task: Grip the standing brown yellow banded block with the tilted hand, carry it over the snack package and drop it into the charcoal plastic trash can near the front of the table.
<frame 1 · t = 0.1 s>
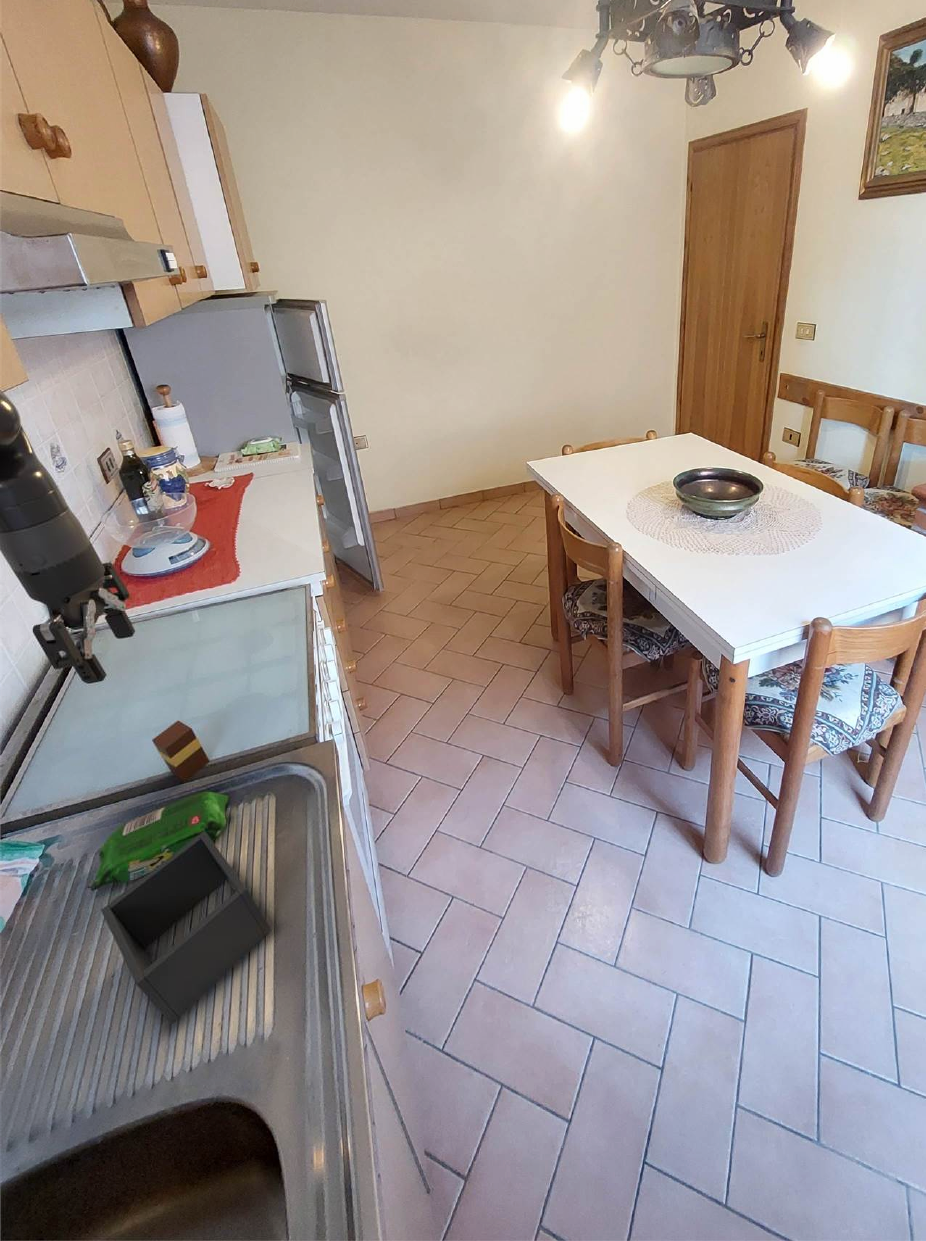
hand: (112, 657, 74), 25 cm above the worktop, tool pointing down, fingers open, 8 cm apart
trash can: (207, 946, 67), on the worktop
snack package: (171, 850, 77), on the worktop
brown yellow banded block: (194, 772, 88), on the worktop
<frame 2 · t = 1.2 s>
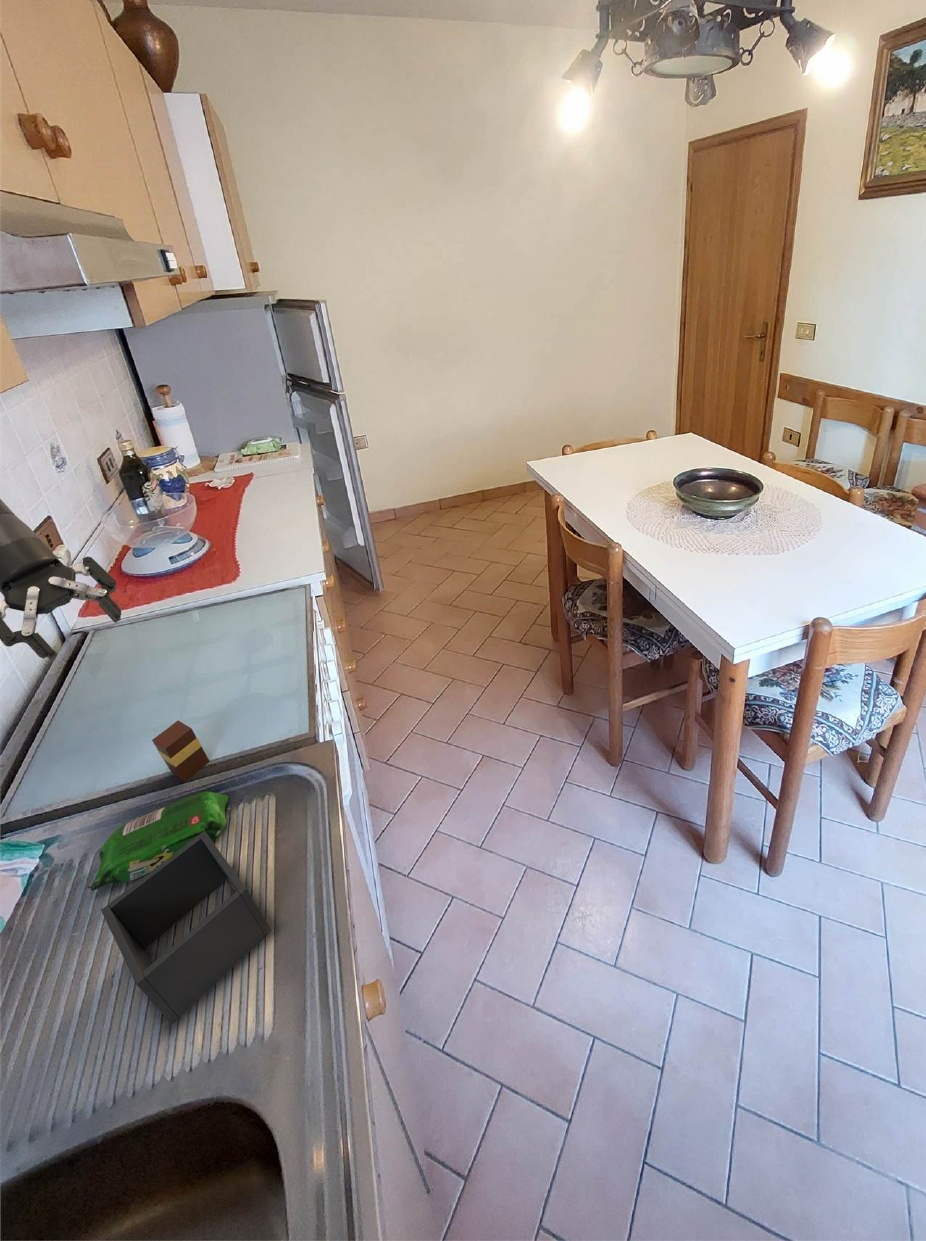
hand: (87, 637, 82), 23 cm above the worktop, tool tilted 45°, fingers open, 8 cm apart
nothing on the worktop moved.
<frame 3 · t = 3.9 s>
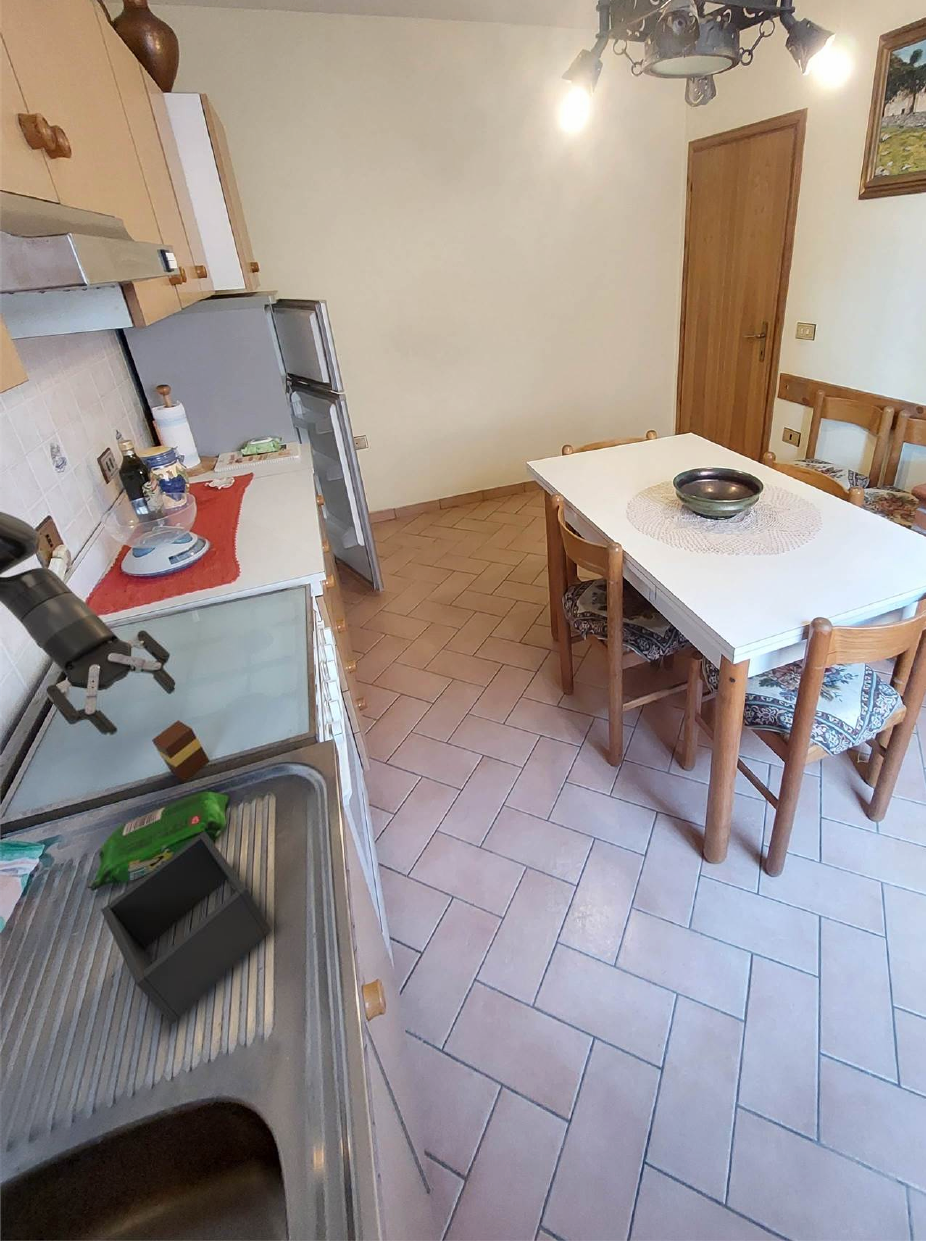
hand: (144, 711, 86), 10 cm above the worktop, tool tilted 45°, fingers open, 8 cm apart
nothing on the worktop moved.
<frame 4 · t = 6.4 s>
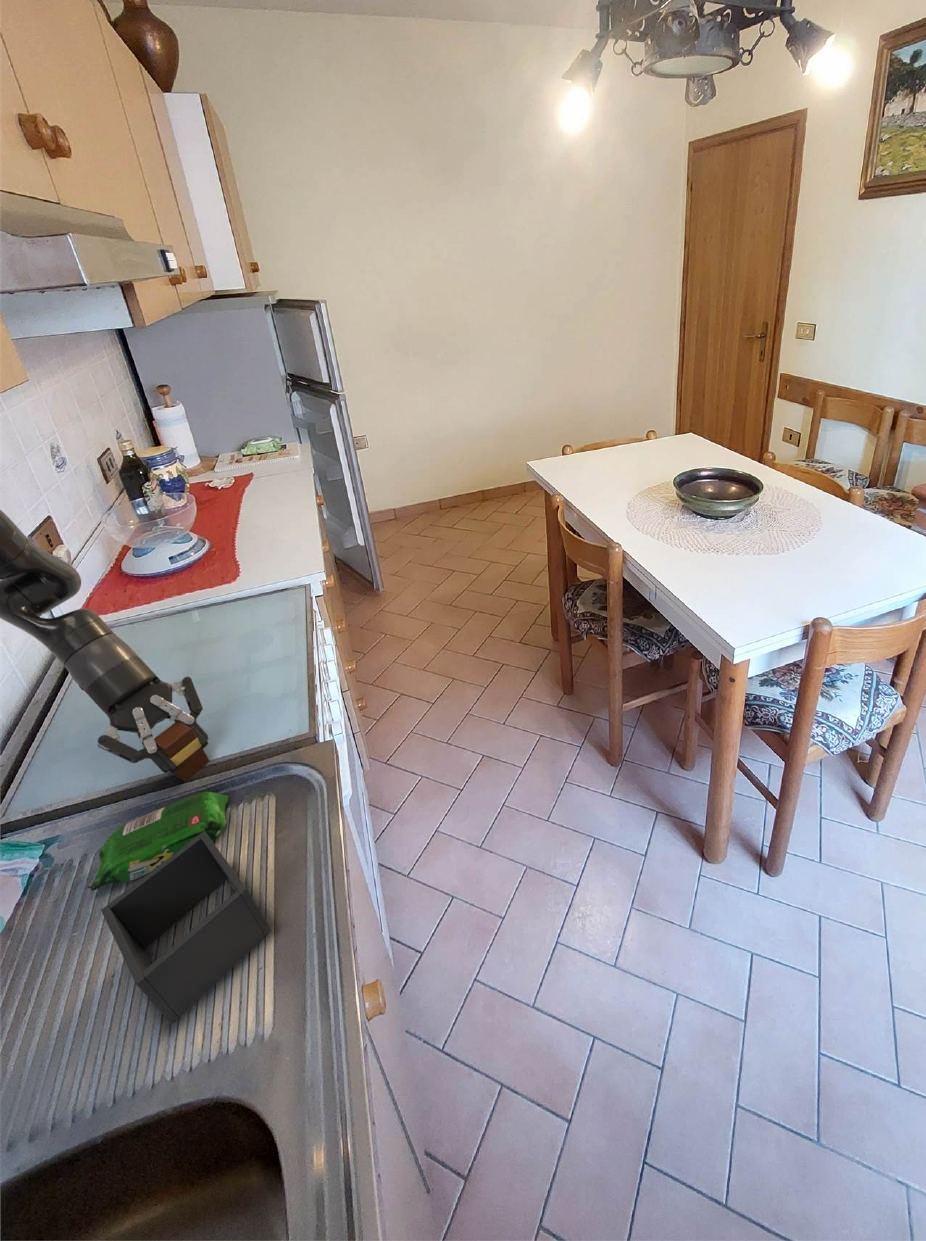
hand: (190, 757, 85), 4 cm above the worktop, tool tilted 45°, fingers closed on brown yellow banded block, 4 cm apart
brown yellow banded block: (194, 772, 88), on the worktop, touching gripper
everything else where it was.
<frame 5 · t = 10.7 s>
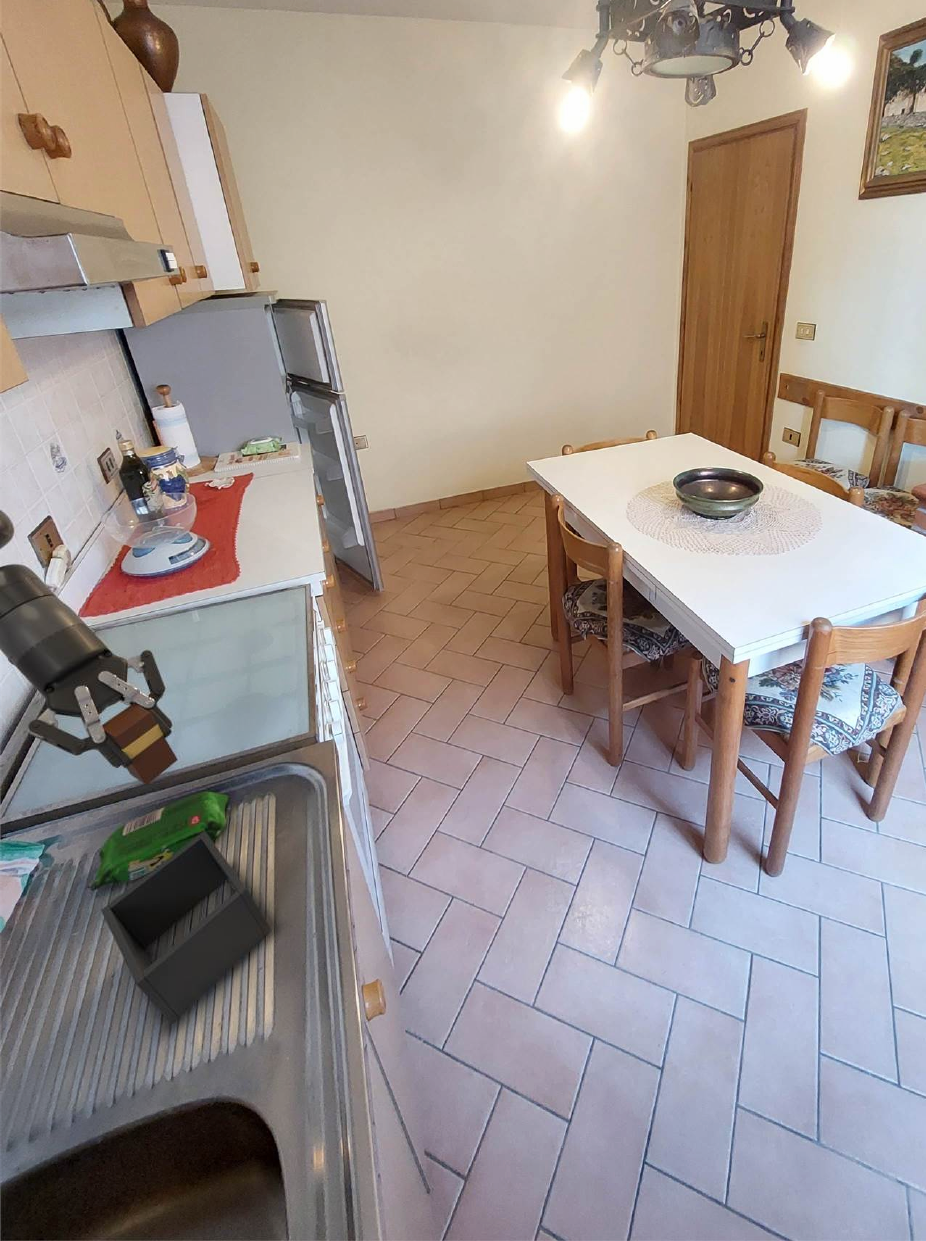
hand: (148, 749, 69), 19 cm above the worktop, tool tilted 45°, fingers closed on brown yellow banded block, 4 cm apart
brown yellow banded block: (154, 767, 72), point 14 cm above the worktop, touching gripper
everything else where it was.
when the fingers open (11 cm above the worktop, at t = 15.3 s): brown yellow banded block drops 6 cm, resting on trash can.
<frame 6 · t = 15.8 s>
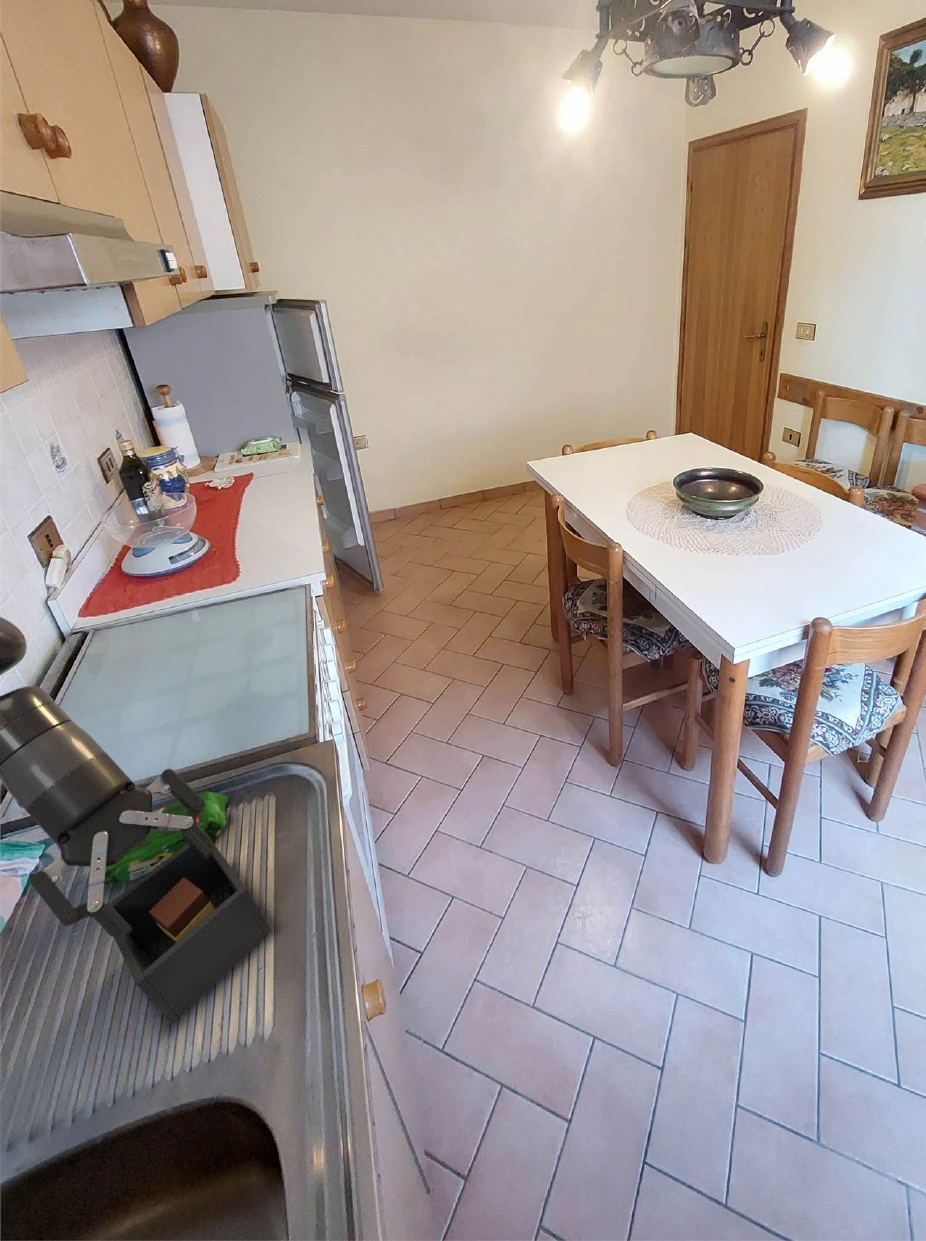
hand: (171, 893, 60), 12 cm above the worktop, tool tilted 45°, fingers open, 8 cm apart
brown yellow banded block: (205, 942, 66), point 1 cm above the worktop, touching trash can
everything else where it was.
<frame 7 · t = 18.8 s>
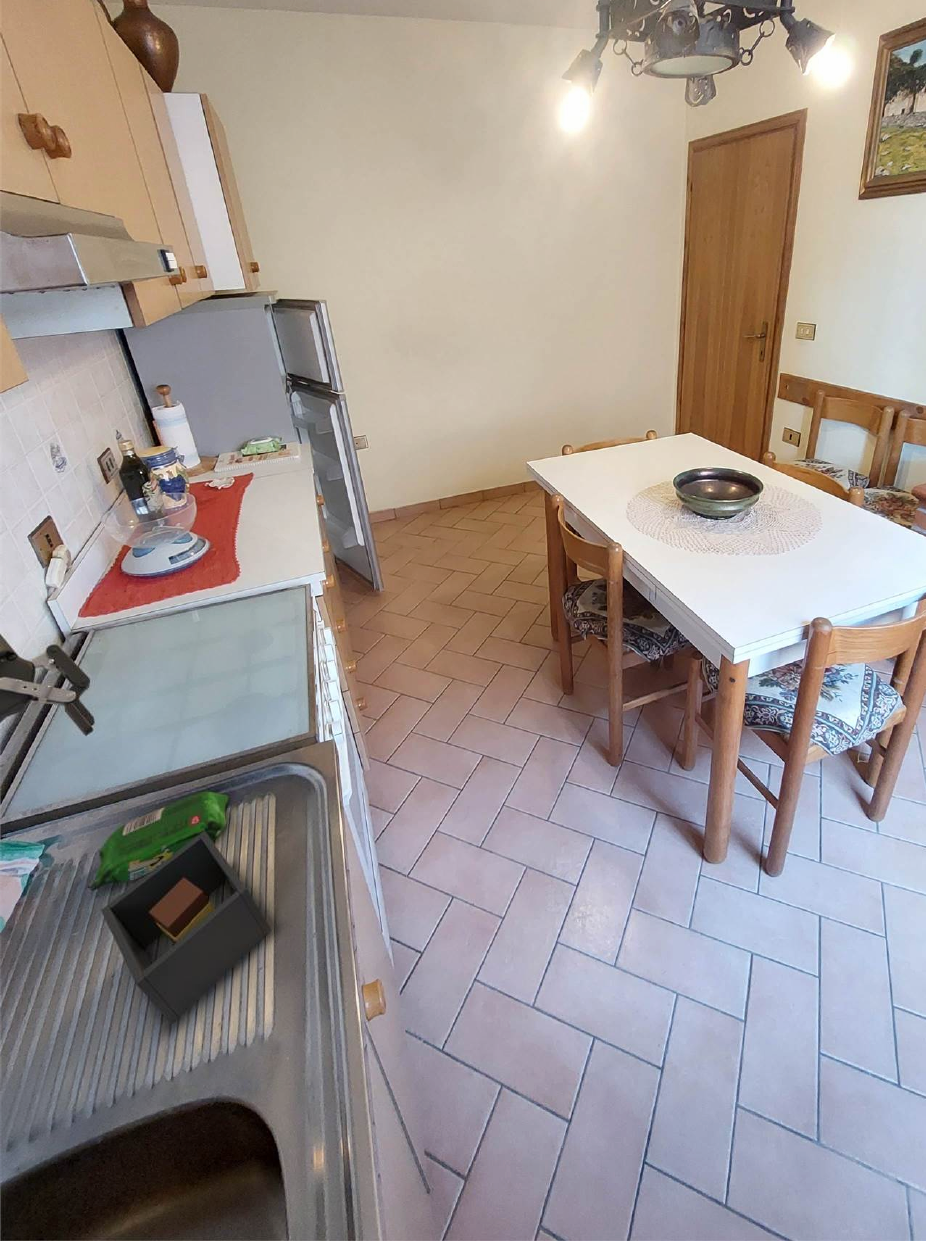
hand: (45, 761, 61), 25 cm above the worktop, tool tilted 40°, fingers open, 8 cm apart
nothing on the worktop moved.
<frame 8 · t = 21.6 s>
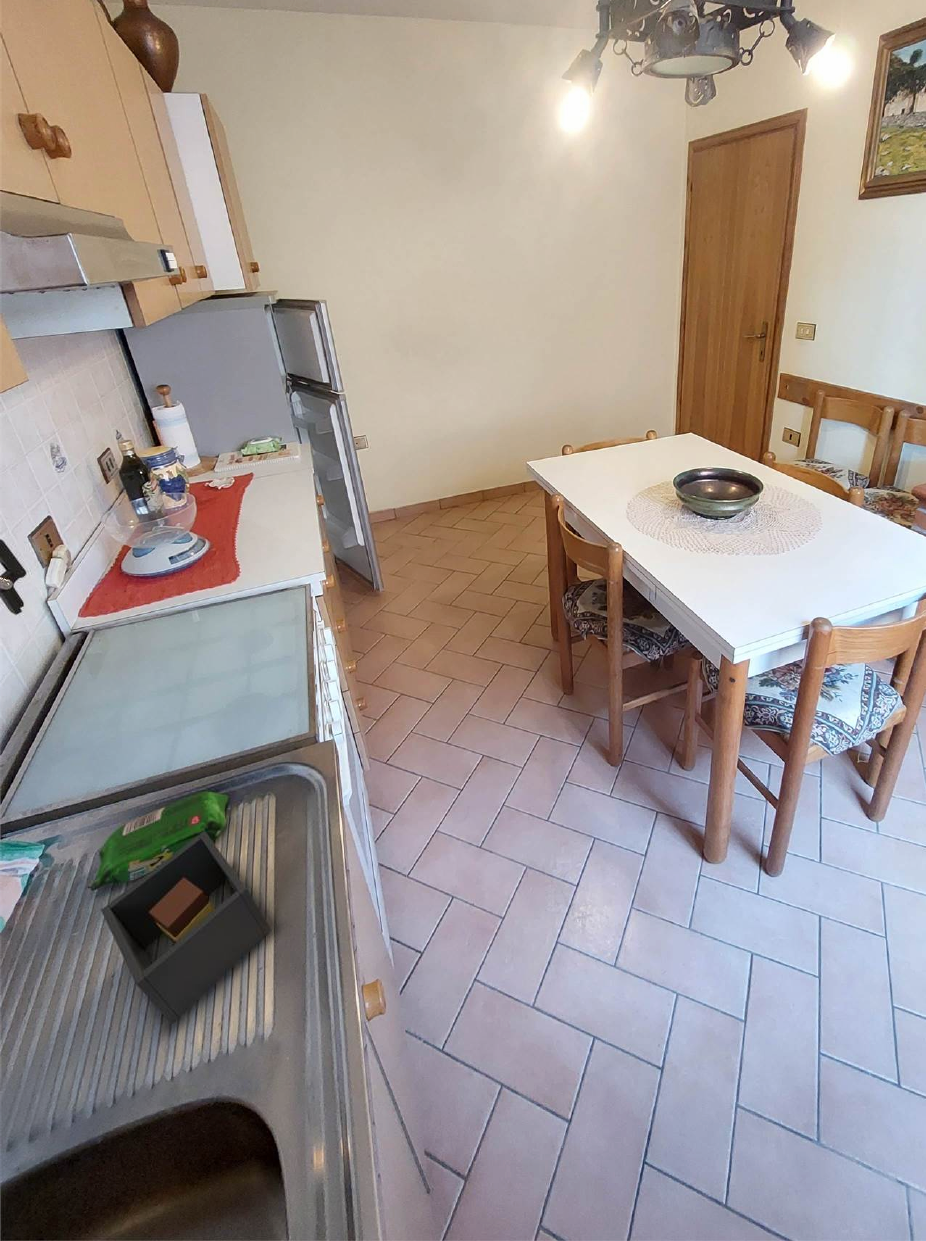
nothing on the worktop moved.
at the end: brown yellow banded block inside the target area in the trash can (0.0 cm from its centre), point 0.8 cm above the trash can's base; the gripper is holding nothing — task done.
